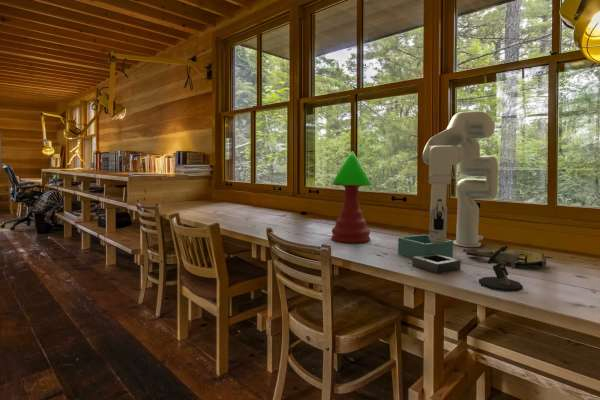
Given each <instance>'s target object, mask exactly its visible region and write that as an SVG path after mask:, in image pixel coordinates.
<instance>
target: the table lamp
mask: <svg viewBox="0 0 600 400" xmlns="http://www.w3.org/2000/svg"><path fill="white" fill-rule="evenodd" d="M331 184H332V185H333V186H342V187H343V188H344V192H343V195H344V200H343V202H342V203H343V204H342V209H341V210H340V212H339V217H338V218H337V219H336V220H335V225H334V227H333V228H331V233H332V236H331V237H330V238H331V240H332V241H334V242H339V243H348V244H359V243H366V242H370V241H371V238H370V235H371V234H370V233H371V230H370V229H369V228H368V226H367V221H366V219H365V217H363V212H362V209H361V208H360V201H359V196H360V192H359V189H360V187H361V186H362V187H363V186H366V187H367V186H371V185H372V182H371V179H369V176H368V175H367V173H366V170H365V169H364V167H363V165H362V163H361V162H360V160H359V159H358V157H357V156H356V154H355V152H354V151H353V150H352V151H351V152H350V153H349V155H348V156H347V158H346V159H345V161H344V162H343V164H342V165H341V167H340V169H339V170H338V171H337V175H336V176H335V178H334V180H333V182H332V183H331Z"/></svg>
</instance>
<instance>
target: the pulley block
mask: <svg viewBox="0 0 600 400" xmlns="http://www.w3.org/2000/svg"><path fill="white" fill-rule="evenodd" d="M499 249H500V248H492V249H490V250H489V251H487V250H482V249H475V248H473V249H472V248H471V249H469V248H468V249H467V250H472V251H478V252H484V253H489V254H492V253H495V252H497V251H498V250H499ZM505 252H509V253H515V254H520V255H519V258H523V259H525V256H527V264H525V261H524V260H519V262H517V263H515V269H520V270H541V269H544V270H549V268H547V267H546V265H547V263H548V262H547V259H554V257H553V256H552V257H551V256H546V254H545V253H538V252H535V251H527V250H519V249H518V250H517V249H508V248H507V249H506V250H505ZM465 254H466V256H473V257H479V258H489V259H490V256H484V255H479V254H473V253H468V252H465ZM492 263H497V264H499V260H498V259H496V260H495V261H493V262H492ZM504 265H505V267H510V268H511V262H509V261H505V264H504Z"/></svg>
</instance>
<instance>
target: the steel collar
mask: <svg viewBox="0 0 600 400" xmlns="http://www.w3.org/2000/svg"><path fill="white" fill-rule="evenodd" d="M461 261H462V260H461V259H459V258H458V259H457V258H454V257H451V258H450V257H446V256H443V255H439V254H429V255H422V256H416V257H413V258H412V267H415V268H418V269H420V270H423V271H426V272H429V273H433V274H436V275H439V274H444V273H445V274H446V273H449V272H455V271H460V270H461Z"/></svg>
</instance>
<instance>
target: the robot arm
mask: <svg viewBox="0 0 600 400" xmlns="http://www.w3.org/2000/svg"><path fill="white" fill-rule="evenodd" d="M494 130H495V125H494V121H493V119H492V117H491V116H490V114H488V113H487V112H486V111H484V110H474V111H460V112H457V113H455V114H454V115H453V116H452V117H451V119H450V121H449V123H448V125H447V127H446V129H445V130H442V131H441V132H439V133H437V134H434V136H432V137H430V138H429V139H428V141H427V142H426V144H425V146H424V149H423V152H422V160H423V163H424V164H426V165H427V166H428V184H429V185H430V186H431V189H430V206H431V210H432V211H433V210H435V219H434V230H443V225H444V219H443V210H444V211H445V208H446V206H447V195H448V192H447V190H448V185H451V181H452V180H451V178H452V166H456V165H459V172H460V174H461V175H462V176H464V177H484V179H483V178H463V179H460V180H458V181H457V183H456V185H455V188H456V189H455V190H456V198H457V199H456V200H457V206H456V209H457V212H456V234H455V239H454V240H452V241H453V246H454V245H455V246H457V247H463V248H479V247H481V246H482V243H481V242H480V240H483V239H484V236H483V235H479V219H480V207H479V205H478V204H477V202H476V201H475V200H480V201H481V200H484V201H492V200H494V199H496V197H497V195H498V177H499V176H498V170H499V169H498V168H499V167H498V165H499V164H498V160H497V158H496V157H495V156H493V155H481V153H480V149H481V147H480V146H481V145H480V143H479V141H478V140H477V139H486V138H487V139H488V138H490V137H491V136H493V134H494ZM430 206H429V207H430ZM443 207H444V209H443ZM436 209H438V210H436Z"/></svg>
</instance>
